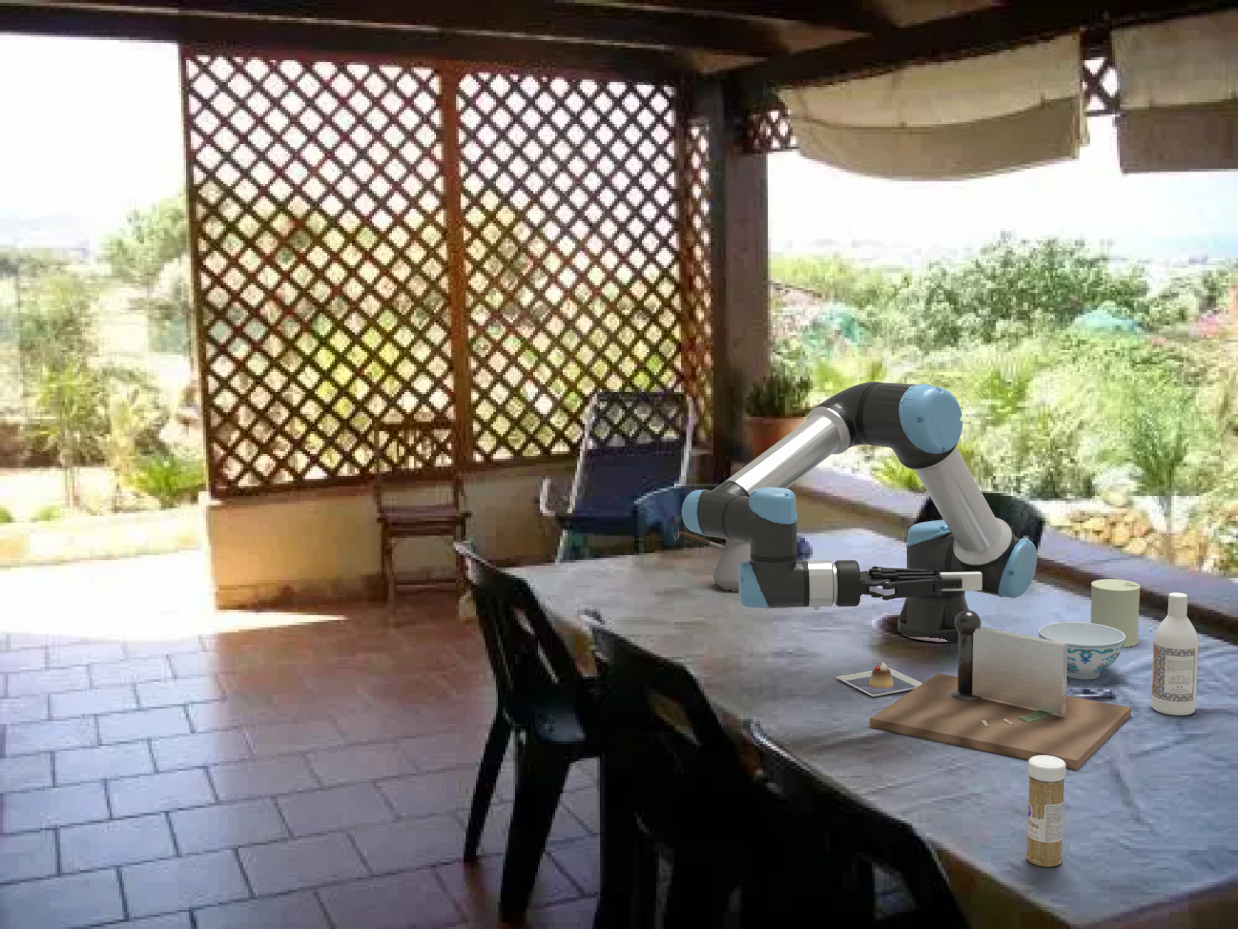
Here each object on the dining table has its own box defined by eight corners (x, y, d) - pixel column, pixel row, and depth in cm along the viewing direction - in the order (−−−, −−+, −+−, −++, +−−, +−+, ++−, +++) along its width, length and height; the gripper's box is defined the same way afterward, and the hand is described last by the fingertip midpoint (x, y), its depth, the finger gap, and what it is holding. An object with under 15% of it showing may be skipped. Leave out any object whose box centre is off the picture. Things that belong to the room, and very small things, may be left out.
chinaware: (1068, 690, 233) (1070, 648, 232) (1021, 666, 248) (1022, 626, 247) (1141, 681, 237) (1143, 640, 236) (1091, 658, 252) (1092, 618, 250)
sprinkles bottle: (1019, 854, 171) (1021, 755, 169) (1052, 851, 172) (1054, 752, 169) (1036, 870, 166) (1039, 769, 164) (1070, 866, 167) (1073, 765, 165)
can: (1142, 648, 257) (1144, 588, 255) (1092, 647, 259) (1094, 587, 257) (1134, 635, 266) (1136, 577, 264) (1086, 633, 267) (1087, 576, 266)
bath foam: (1159, 700, 227) (1163, 587, 224) (1201, 708, 223) (1206, 593, 220) (1145, 711, 222) (1149, 595, 219) (1188, 719, 218) (1193, 602, 215)
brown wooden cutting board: (869, 727, 218) (869, 716, 218) (938, 681, 240) (938, 671, 240) (1077, 770, 198) (1077, 758, 198) (1130, 716, 220) (1131, 705, 220)
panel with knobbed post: (948, 692, 227) (949, 611, 225) (961, 685, 230) (962, 605, 228) (1057, 717, 214) (1060, 631, 212) (1069, 710, 217) (1072, 625, 215)
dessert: (834, 682, 243) (835, 657, 242) (889, 673, 247) (889, 648, 247) (872, 702, 232) (872, 675, 231) (928, 691, 236) (929, 666, 236)
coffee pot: (749, 579, 319) (749, 518, 316) (770, 590, 308) (769, 527, 306) (667, 588, 312) (665, 526, 310) (685, 600, 301) (683, 536, 299)
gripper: (829, 595, 221) (971, 593, 220) (838, 617, 208) (990, 614, 207) (829, 552, 220) (972, 549, 219) (838, 570, 207) (990, 568, 206)
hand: (980, 581), depth 213 cm, fingers closed
